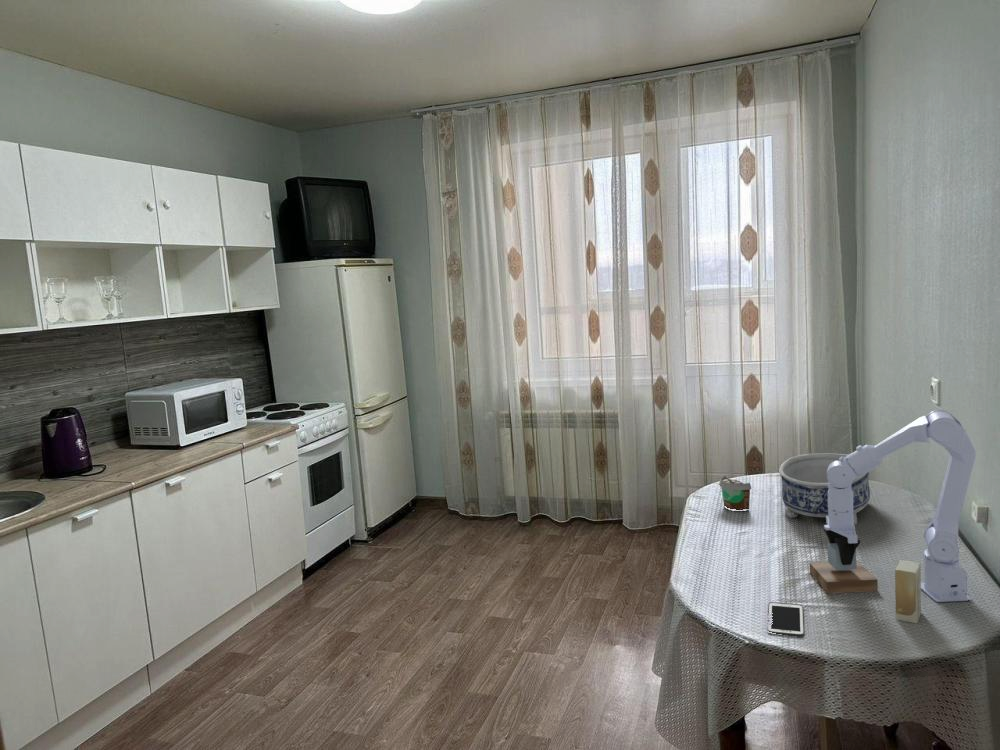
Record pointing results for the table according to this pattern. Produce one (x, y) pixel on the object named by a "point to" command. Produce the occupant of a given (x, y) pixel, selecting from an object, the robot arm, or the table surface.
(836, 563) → the slate cube
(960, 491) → the robot arm
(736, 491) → the food container
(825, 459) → the decorative bowl
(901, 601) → the skincare box
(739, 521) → the table surface
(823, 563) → the walnut base
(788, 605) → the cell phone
